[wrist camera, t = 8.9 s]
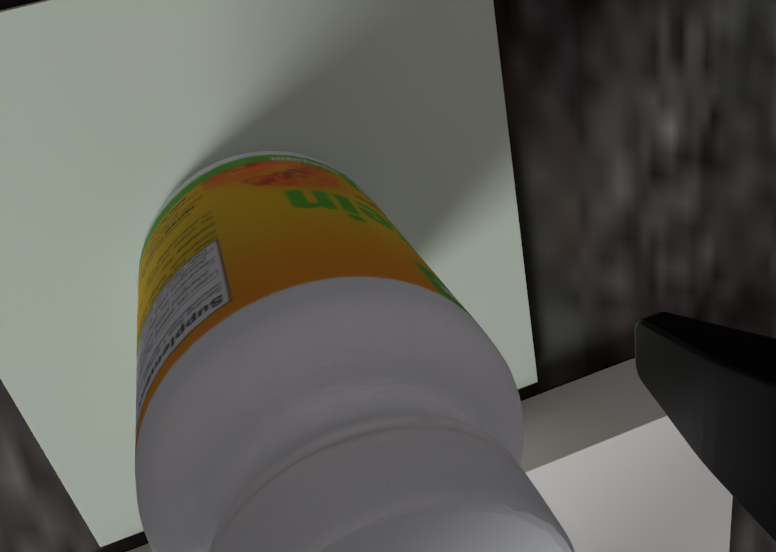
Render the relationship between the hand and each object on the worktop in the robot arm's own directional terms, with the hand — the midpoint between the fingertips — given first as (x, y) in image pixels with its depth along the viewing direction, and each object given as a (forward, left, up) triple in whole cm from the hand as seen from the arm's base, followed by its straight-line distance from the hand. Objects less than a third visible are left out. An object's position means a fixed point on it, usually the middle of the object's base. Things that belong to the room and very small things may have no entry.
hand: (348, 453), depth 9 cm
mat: (0, 0, -7) cm, 7 cm away
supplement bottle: (0, 0, -7) cm, 7 cm away
